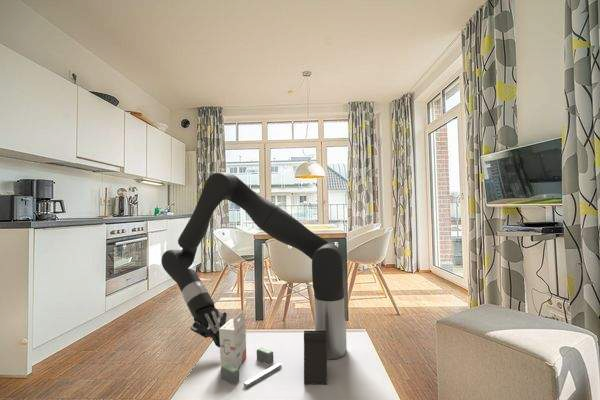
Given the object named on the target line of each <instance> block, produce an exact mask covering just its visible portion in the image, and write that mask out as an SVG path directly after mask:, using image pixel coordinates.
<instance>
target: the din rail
mask: <svg viewBox="0 0 600 400" xmlns="http://www.w3.org/2000/svg"><path fill="white" fill-rule="evenodd" d="M281 369H282V363H280V362H277V363H276V364H274V365H272V366H271V367H268V368H267V369H265V370H263V371H262V372H260V373H258V374H257V375H255V376H253V377H252V378H250V379H248V380H246V381H244V382H243V387H244V388H246V389H248V388H250V387H252V386H253V385H255V384H257V383H258V382H260V381H261V380H263V379H265V378H267V377H268V376H270V375H272V374H273V373H275V372H277V371H278V370H281Z"/></svg>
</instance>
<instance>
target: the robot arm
mask: <svg viewBox="0 0 600 400" xmlns="http://www.w3.org/2000/svg"><path fill="white" fill-rule="evenodd" d="M226 200H227V201H229V202H231V203H233V204H235V205H236V206H237V207H239V208H241V209H242V210H244V212H245V213H246V214H247V215H248V217H250V219H251V220H252V221H253V223H254V224H255V226H257V227H258V228H259V229H260V230H261V231H263V232H264V233H266V234H267V236H268V235H269V236H270V237H271V238H273V239H274V240H276V241H278V242H280V243H283V244H284V245H287V246H290V247H293V248H295V249H297V250H298V251H300V252H301V253H303V254H304V255H306V256H307V257H308V258H309V259H310V260H311V278H312V279H311V280H312V281H311V282H312V289H313V296H314V297H313V301H314V303H313V305H314V331H326V344H327V360H336V359H340V358H342V357H344V356H345V354H346V351H347V320H346V319H345V316H346V315H345V289H344V288H345V287H344V277H343V276H344V275H343V272H344V271H343V270H344V269H343V265H344V262H345V255H344V253H343V251H342V249H341V248H340V247H339V246H337V245H336V244H334V243H332V242H330V241H328V240H327V239H325V238H323V237H321V236H320V235H318V234H316V233H315V232H313V231H311V230H310V229H309V228H308V227H306V226H305V225H304V224H302V222H300V220H299V221H298V219H297V218H294V217H293V216H292V215H291V214H289V213H288V212H286V211H285V210H284V209H282V208H281V207H280V206H278V205H277V204H275V203H273V202H271V201H270V200H269V199H267V198H265V197H264V196H262V195H260V194H259V193H257V192H256V191H254V190H253V189H252V188H251V187H249V186H248V185H247V184H246V183H245V182H244V181H242V179H240V178H239V177H238V176H237V175H236V174H234V173H232V172H229V171H228V172H227V171H226V172H225V171H220V172H219V171H218V172H213V173H211V174H210V175H209V176H208V177H207V179H206V181H205V184H204V185H203V189H202V191H201V194H200V196H199V199H198V201H197V203H196V206H195V208H194V210H193V212H192V214H191V217H190V218H189V220H188V221H187V223H186V225H185V227H184V228H183V230H182V232H181V234H180V235H179V237H178V239H177V243H178V246H179V248H181V249H168V250H166V251H165V252H164V253H163V254H162V255H161V265H162V266H161V267H163V270H164V271H165V272H166V273H167V275H168V276H170V278H172V280H173V281H174V282H175V283H176V284H177V286H178V287H179V290H180V292H181V294H182V297H183V300H184V302H185V304H186V306H187V308H188V310H189V312H190V314H191V316H192V317H193V321H194V322H193V323H192V325H191V327H190V331H193V332H194V333H195V334H198V335H199V336H201V337H203V338H205V339H207V338H212V342H214V345H215V346H216V347H217V348H219V349H220V336H219V329H220V328H221V327H222V326H223V325H224V324H226V323H227V316H228V314H227V312H225V311H224V312H220V311H219V310H218V309H217V308H216V306H215V302H214V301H213V299H212V297H211V295H210V293H209V291H208V289H207V287H206V286H205V285H204V284H203V282H202V280H201V278H200V276H199V275H198V273H197V271H196V270H195V269H192V268H190V267H192V265H193V264H194V262H195V259H196V253H197V250H198V247H199V245H200V244H201V242H202V241H203V239H204V237H205V235H206V234H207V231H208V229H209V225H210V220H211V218H212V216H213V214H214V211H216V209H217V208H218V206H219V205H220V204H221V203H222V202H223V201H226Z"/></svg>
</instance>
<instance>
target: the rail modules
mask: <svg viewBox="0 0 600 400" xmlns="http://www.w3.org/2000/svg"><path fill="white" fill-rule="evenodd" d="M256 361H258V362H262V363H264V364H266V365H268V366H269V365H271V364H273V363H274V361H275V360H274V351H272V350H269V349H267V348H264V347H259V348H257V349H256ZM220 372H221V376H220V377H221V379H222V380H224V381H226V382H228V383H229V384H232V385H235V384H238V383H239V382H240V370H239V368H238V369H236V368H234V367H232V366H230V365H228V364H227V365H225V366H223V367H221V366H220Z"/></svg>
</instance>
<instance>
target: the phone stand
mask: <svg viewBox="0 0 600 400" xmlns="http://www.w3.org/2000/svg"><path fill="white" fill-rule="evenodd" d="M303 384H304V385H328V359H327V344H326V331H315V330H303Z"/></svg>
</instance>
